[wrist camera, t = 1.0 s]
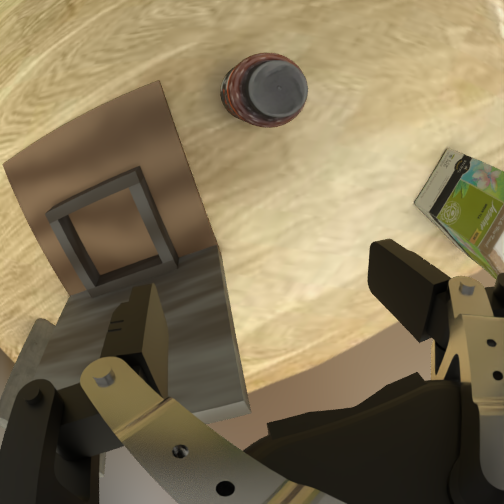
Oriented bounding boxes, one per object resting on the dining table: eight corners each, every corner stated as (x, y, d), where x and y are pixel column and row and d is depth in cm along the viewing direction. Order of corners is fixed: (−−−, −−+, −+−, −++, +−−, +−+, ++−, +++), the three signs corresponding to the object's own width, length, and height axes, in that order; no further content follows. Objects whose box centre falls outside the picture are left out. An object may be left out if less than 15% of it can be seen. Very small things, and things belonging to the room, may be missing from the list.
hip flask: (32, 324, 35) (-15, 436, 18) (44, 312, 35) (-7, 430, 17) (108, 384, 43) (94, 494, 25) (123, 376, 42) (111, 492, 25)
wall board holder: (6, 162, 25) (-124, 244, 7) (159, 80, 25) (85, 42, 7) (78, 302, 35) (28, 440, 17) (221, 253, 35) (251, 413, 17)
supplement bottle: (206, 95, 27) (211, 90, 17) (247, 52, 25) (274, 27, 15) (252, 132, 29) (281, 149, 19) (291, 91, 28) (338, 88, 18)
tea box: (410, 204, 36) (488, 258, 23) (446, 145, 33) (531, 179, 20) (457, 249, 42) (517, 299, 29) (487, 201, 39) (552, 240, 26)
